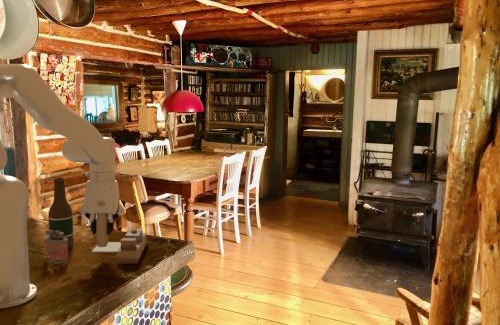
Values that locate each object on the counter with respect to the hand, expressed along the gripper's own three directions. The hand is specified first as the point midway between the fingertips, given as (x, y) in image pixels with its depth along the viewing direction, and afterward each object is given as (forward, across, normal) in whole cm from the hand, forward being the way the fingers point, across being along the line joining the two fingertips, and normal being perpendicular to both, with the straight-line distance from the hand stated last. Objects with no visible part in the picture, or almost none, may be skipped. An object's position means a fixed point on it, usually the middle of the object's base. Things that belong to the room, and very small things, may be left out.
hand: (102, 232), depth 133 cm
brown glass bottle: (+9, -16, +11) cm, 22 cm away
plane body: (+8, +9, +5) cm, 13 cm away
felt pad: (+8, 0, +10) cm, 13 cm away
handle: (+4, 0, 0) cm, 4 cm away
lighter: (+9, -13, -2) cm, 16 cm away
